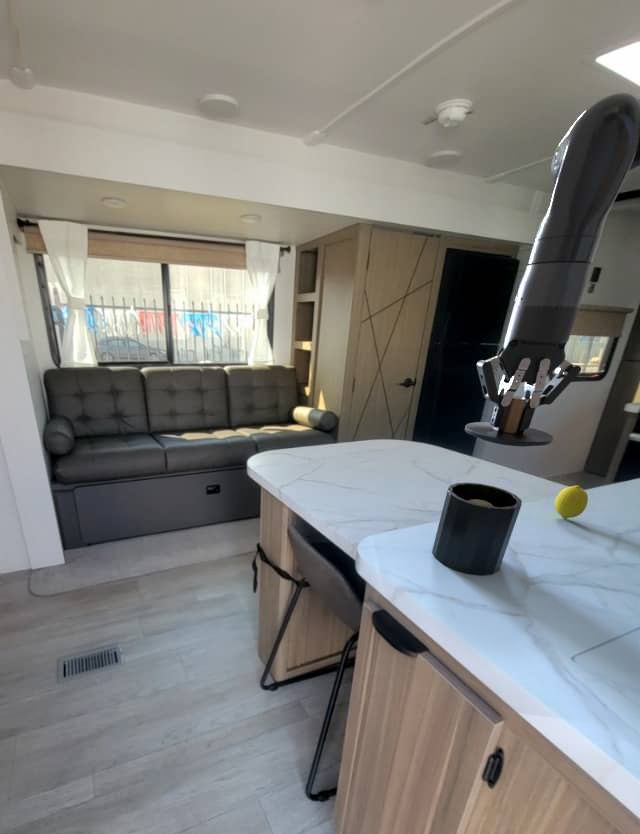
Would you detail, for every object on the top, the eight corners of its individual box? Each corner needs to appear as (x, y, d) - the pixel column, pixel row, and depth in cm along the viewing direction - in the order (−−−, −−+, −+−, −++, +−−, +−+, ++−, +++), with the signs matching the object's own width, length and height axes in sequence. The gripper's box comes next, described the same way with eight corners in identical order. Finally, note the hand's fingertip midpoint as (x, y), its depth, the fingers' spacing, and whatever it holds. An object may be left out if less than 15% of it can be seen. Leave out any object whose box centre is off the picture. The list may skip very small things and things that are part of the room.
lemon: (546, 517, 91) (558, 484, 87) (554, 511, 94) (566, 479, 90) (575, 526, 87) (589, 492, 83) (582, 519, 90) (596, 486, 87)
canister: (485, 548, 78) (505, 485, 72) (508, 581, 68) (534, 511, 62) (425, 542, 79) (441, 480, 73) (440, 574, 69) (458, 505, 64)
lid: (528, 431, 67) (541, 393, 64) (567, 452, 57) (584, 407, 54) (454, 427, 69) (463, 389, 66) (478, 446, 58) (490, 402, 55)
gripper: (502, 301, 52) (467, 434, 60) (621, 305, 50) (570, 440, 58) (482, 303, 59) (453, 422, 66) (586, 306, 57) (544, 428, 65)
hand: (507, 430), depth 62 cm, fingers closed on lid, 2 cm apart
